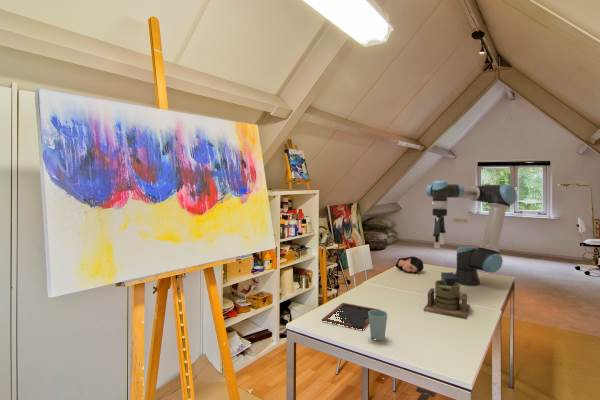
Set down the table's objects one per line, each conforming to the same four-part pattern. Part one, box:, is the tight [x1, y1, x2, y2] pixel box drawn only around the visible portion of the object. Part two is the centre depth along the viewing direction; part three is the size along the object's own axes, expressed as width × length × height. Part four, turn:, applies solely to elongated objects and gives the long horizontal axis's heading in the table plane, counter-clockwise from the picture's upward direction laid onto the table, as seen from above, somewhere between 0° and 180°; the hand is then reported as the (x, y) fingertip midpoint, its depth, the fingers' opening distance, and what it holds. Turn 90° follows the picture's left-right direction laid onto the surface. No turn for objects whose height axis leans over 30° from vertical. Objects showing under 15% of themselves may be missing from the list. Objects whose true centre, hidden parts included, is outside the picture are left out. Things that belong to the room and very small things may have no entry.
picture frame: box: [321, 302, 380, 330], centre depth 157 cm, size 20×2×25 cm
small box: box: [440, 272, 459, 286], centre depth 185 cm, size 13×7×12 cm, turn 168°
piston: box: [434, 279, 461, 311], centre depth 166 cm, size 11×12×11 cm
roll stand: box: [423, 287, 471, 320], centre depth 166 cm, size 18×19×8 cm
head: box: [394, 256, 424, 275], centre depth 237 cm, size 12×13×20 cm
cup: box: [368, 309, 388, 341], centre depth 135 cm, size 8×8×10 cm
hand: (439, 246), depth 184 cm, fingers open, 13 cm apart
